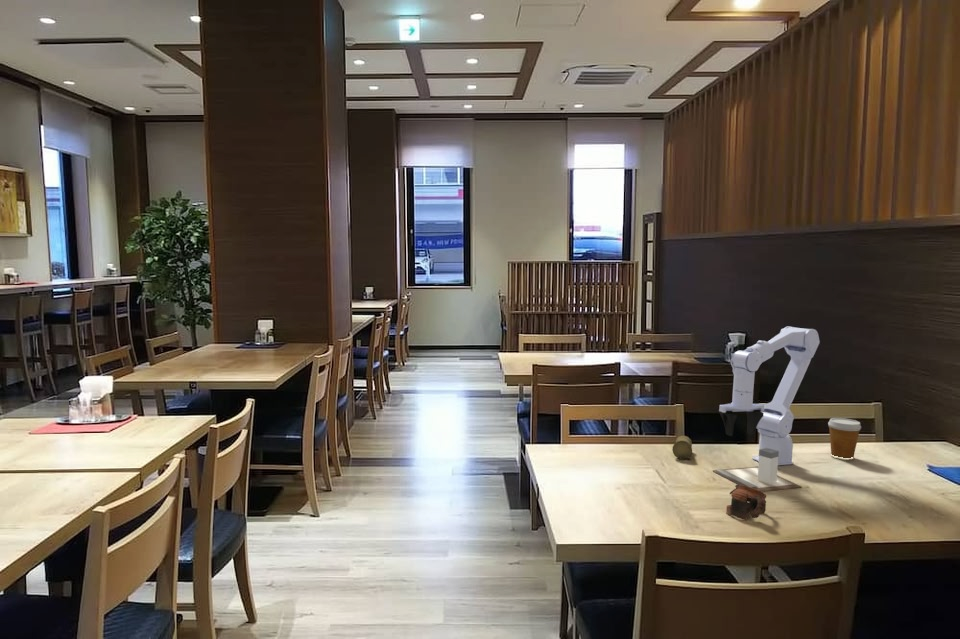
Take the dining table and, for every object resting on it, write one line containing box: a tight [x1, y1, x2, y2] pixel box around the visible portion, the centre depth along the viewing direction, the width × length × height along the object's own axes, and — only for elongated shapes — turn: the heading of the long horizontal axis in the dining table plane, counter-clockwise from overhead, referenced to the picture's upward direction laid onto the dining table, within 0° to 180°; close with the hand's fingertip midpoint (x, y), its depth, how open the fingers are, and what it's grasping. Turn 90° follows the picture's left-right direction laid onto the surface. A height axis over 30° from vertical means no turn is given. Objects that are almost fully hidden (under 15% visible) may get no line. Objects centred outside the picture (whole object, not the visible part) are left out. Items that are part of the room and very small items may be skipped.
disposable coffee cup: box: [827, 417, 862, 458], centre depth 214 cm, size 10×10×12 cm
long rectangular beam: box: [757, 448, 779, 484], centre depth 187 cm, size 4×4×9 cm
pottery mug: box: [725, 484, 767, 521], centre depth 163 cm, size 12×10×8 cm
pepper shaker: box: [672, 435, 693, 461], centre depth 213 cm, size 6×6×11 cm
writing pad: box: [712, 465, 802, 493], centre depth 191 cm, size 16×18×1 cm
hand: (739, 434), depth 200 cm, fingers open, 7 cm apart
